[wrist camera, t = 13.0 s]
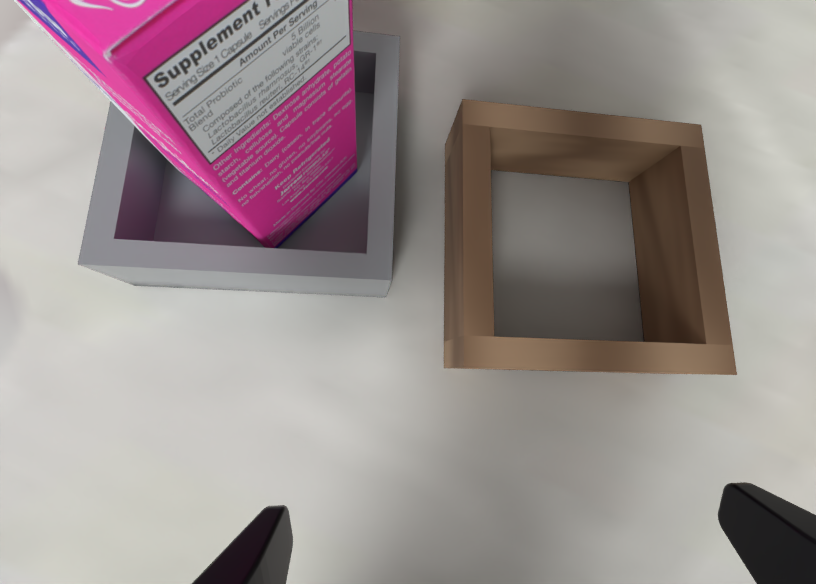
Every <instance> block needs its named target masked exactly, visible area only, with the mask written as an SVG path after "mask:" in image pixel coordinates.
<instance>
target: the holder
mask: <svg viewBox="0 0 816 584" xmlns="http://www.w3.org/2000/svg"><path fill="white" fill-rule="evenodd" d="M491 170H496V171H508V172H519V173H531V174H542V175H554V176H566V177H577V178H589V179H600V180H612V181H623V182H629V190H630V200H631V211H632V221H633V231H634V241H635V252H636V262H637V272H638V282H639V292H640V303H641V313H642V323H643V333H644V342H632V341H604V340H576V339H548V338H520V337H494V302H493V253H492V204H491ZM444 368H463V369H502V370H541V371H580V372H619V373H658V374H719V375H737V372H736V365H735V358H734V351H733V344H732V337H731V330H730V323H729V316H728V309H727V302H726V295H725V288H724V281H723V274H722V267H721V260H720V253H719V246H718V239H717V232H716V225H715V218H714V211H713V204H712V197H711V190H710V183H709V176H708V169H707V162H706V155H705V148H704V141H703V134H702V127H701V125H698V124H689V123H680V122H670V121H661V120H652V119H642V118H633V117H624V116H615V115H605V114H596V113H587V112H577V111H568V110H559V109H549V108H540V107H531V106H522V105H512V104H503V103H494V102H484V101H475V100H466V99H462V102H461V105H460V107H459V110H458V112H457V115H456V118H455V120H454V123H453V126H452V128H451V131H450V133H449V136H448V139H447V141H446V144H445V260H444Z"/></svg>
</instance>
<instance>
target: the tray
mask: <svg viewBox="0 0 816 584" xmlns="http://www.w3.org/2000/svg"><path fill="white" fill-rule="evenodd" d="M353 47H354V70H355V110H356V145H357V173H356V174H354V175H353V176H352V178H351V179H350V180H348V181H347V182H346V183H345V184H344V185H343V186H342V187H341V188H340V189H339V190H338V191H337V192H336V193H335V194H334V195H333V196H332V197H331V198H330V199H329V200H328V201H327V202H326V203H325V204H323V205H322V206H321V207H320V208H319V209H318V210H317V211H316V212H315V213H314V214H313V215H312V216H311V217H310V218H309V219H308V220H307V221H306V222H305V223H304V224H302V225H301V226H300V227H299V228H298V229H297V230H296V231H295V232H294V233H293V234H292V235H291V236H290V237H289V238H288V239H287V240H286V241H285V242H284V243H283V244H282V245H281V246H280V247H278V248H265V247H264V246H263V245H262V244H261V243H260V242H259V241H258V240H257V239H256V238H255V237H254V236H253V235H252V234H250V233H249V232H248V231H247V230H246V229H245V228H244V227H243V226H242V225H241V224H239V223H238V222H237V221H236V220H235V219H234V218H233V217H232V216H231V215H229V214H228V213H227V212H226V211H225V210H224V209H223V208H222V207H220V206H219V205H218V204H217V203H216V202H215V201H214V200H213V199H211V198H210V197H209V196H208V195H207V194H206V193H205V192H204V191H202V190H201V189H200V188H199V187H198V186H197V185H196V184H194V183H193V182H192V181H190V180H189V179H188V178H187V177H186V176H184V175H183V174H182V173H181V172H179V171H178V170H177V169H176V168H175V167H174V166H173V165H172V164H171V163H170V162H169V161H168V160H167V159H166V158H165V157H164V156H163V155H162V154H161V153H160V152H159V151H158V149H157V148H156V147H155V146H154V145H153V144H152V143H151V142H150V141H149V140H148V139H147V138H146V137H145V136H144V135H143V134H142V133H141V132H140V131H139V130H138V129H137V128H136V127H135V126H134V125H133V124H132V123H131V122H130V121H129V120H128V118H127V117H126V116H125V115H124V114H123V113H122V112H121V111H120V110H119V109H118V108H117V107H116V106H115V105H114V104H113V103H112V102H110V107H109V112H108V117H107V122H106V127H105V131H104V136H103V141H102V146H101V151H100V156H99V161H98V166H97V171H96V176H95V181H94V186H93V191H92V196H91V201H90V206H89V211H88V216H87V221H86V226H85V230H84V235H83V240H82V245H81V250H80V255H79V260H78V265H81V266H84V267H86V268H89V269H92V270H94V271H97V272H100V273H102V274H105V275H108V276H110V277H113V278H116V279H118V280H121V281H124V282H126V283H129V284H132V285H134V286H155V287H177V288H199V289H220V290H242V291H264V292H285V293H307V294H328V295H350V296H372V297H386V295H387V292H388V290H389V287H390V284H391V281H392V261H393V231H394V201H395V171H396V141H397V111H398V81H399V51H400V36H394V35H385V34H377V33H369V32H361V31H353Z"/></svg>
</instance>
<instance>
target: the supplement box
mask: <svg viewBox="0 0 816 584" xmlns="http://www.w3.org/2000/svg"><path fill="white" fill-rule="evenodd" d="M14 1H15V2H16V3H17V4H18V5H19V6H20V7H21V8H22V9H23V10H24V12H26V14H27V15H28V16H29V17H30V18H31V19H32V20H33V21H34V22H35V23H36V24H37V25H38V26H39V27H40V28H41V29H42V30H43V31H44V32H45V34H46V35H47V36H48V37H49V38H50V39H51V40H52V41H53V42H54V43H55V44H56V45H57V46H58V47H59V48H60V49H61V50H62V51H63V52H64V53H65V54H66V55H67V56H68V58H69V59H70V60H71V61H72V62H73V63H74V64H75V65H76V66H77V67H78V68H79V69H80V70H81V71H82V72H83V73H84V74H85V75H86V76H87V77H88V78H89V79H90V80H91V81H92V82H93V83H94V84H95V85H96V86H97V87H98V88H99V89H100V90H101V92H102V93H103V94H104V95H105V96H106V97H107V98H108V99H109V100H110V101H111V102H112V103H113V104H114V105H115V106H116V107H117V108H118V109H119V110H120V111H121V112H122V113H123V114H124V115H125V116H126V117H127V118H128V120H129V121H130V122H131V123H132V124H133V125H134V126H135V127H136V128H137V129H138V130H139V131H140V132H141V133H142V134H143V135H144V136H145V137H146V138H147V139H148V140H149V141H150V142H151V143H152V144H153V145H154V146H155V147H156V148H157V149H158V151H159V152H160V153H161V154H162V155H163V156H164V157H165V158H166V159H167V160H168V161H169V162H170V163H171V164H172V165H173V166H174V167H175V168H176V169H177V170H178V171H179V172H181V173H182V174H183V175H184V176H186V177H187V178H188V179H189V180H190V181H192V182H193V183H194V184H196V185H197V186H198V187H199V188H200V189H201V190H202V191H204V192H205V193H206V194H207V195H208V196H209V197H210V198H211V199H213V200H214V201H215V202H216V203H217V204H218V205H219V206H220V207H222V208H223V209H224V210H225V211H226V212H227V213H228V214H229V215H231V216H232V217H233V218H234V219H235V220H236V221H237V222H238V223H239V224H241V225H242V226H243V227H244V228H245V229H246V230H247V231H248V232H249V233H250V234H252V235H253V236H254V237H255V238H256V239H257V240H258V241H259V242H260V243H261V244H262V245H263V246H264V247H265V248H278V247H280V246H281V245H282V244H283V243H284V242H285V241H286V240H287V239H288V238H289V237H290V236H291V235H292V234H293V233H294V232H295V231H296V230H297V229H298V228H299V227H300V226H301V225H302V224H304V223H305V222H306V221H307V220H308V219H309V218H310V217H311V216H312V215H313V214H314V213H315V212H316V211H317V210H318V209H319V208H320V207H321V206H322V205H323V204H325V203H326V202H327V201H328V200H329V199H330V198H331V197H332V196H333V195H334V194H335V193H336V192H337V191H338V190H339V189H340V188H341V187H342V186H343V185H344V184H345V183H346V182H347V181H348V180H350V179H351V178H352V176H353V175H354V174H356V173H357V145H356V110H355V70H354V47H353V15H352V9H353V5H352V0H14Z"/></svg>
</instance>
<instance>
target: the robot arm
mask: <svg viewBox="0 0 816 584" xmlns="http://www.w3.org/2000/svg"><path fill="white" fill-rule="evenodd" d="M718 520H719V523H720V525H721V528H722V529H723V531H724V533H725V534H726V536H727V537H728V539H729V541H730V542H731V544H732V545H733V547H734V548H735V550H736V552H737V553H738V555H739V556H740V558H741V559H742V561H743V563H744V564H745V566H746V567H747V569H748V571H749V572H750V574H751V575H752V577H753V578H754V580H755V582H756V583H757V584H816V515H814V514H812V513H810V512H808V511H806V510H804V509H802V508H800V507H798V506H796V505H794V504H792V503H790V502H788V501H786V500H784V499H782V498H780V497H778V496H776V495H774V494H772V493H770V492H768V491H766V490H764V489H762V488H759V487H757V486H755V485H753V484H751V483H729V484H727V485H726V486H725V487H724V490H723V494H722V498H721V503H720V507H719V511H718ZM292 546H293V535H292V529H291V523H290V516H289V511H288V508H287V507H286V506H284V505H280V506H268V507H266V508H264V509H263V510H262V511H261V512H260V513H259V514H258V515H257V516H256V517H255V518H254V520H253V521H252V522H251V523H250V524H249V525H248V526H247V527H246V528H245V529H244V530H243V531H242V532H241V533H240V534H239V535H238V536H237V537H236V538H235V539H234V540H233V541H232V542H231V543H230V544H229V546H228V547H227V548H226V549H225V550H224V551H223V552H222V553H221V554H220V555H219V556H218V557H217V558H216V559H215V560H214V561H213V562H212V563H211V564H210V565H209V566H208V567H207V568H206V569H205V570H204V571H203V573H202V574H201V575H200V576H199V577H198V578H197V579H196V580H195V581H194V582H193V583H192V584H286V580H287V574H288V569H289V563H290V558H291V553H292Z"/></svg>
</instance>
